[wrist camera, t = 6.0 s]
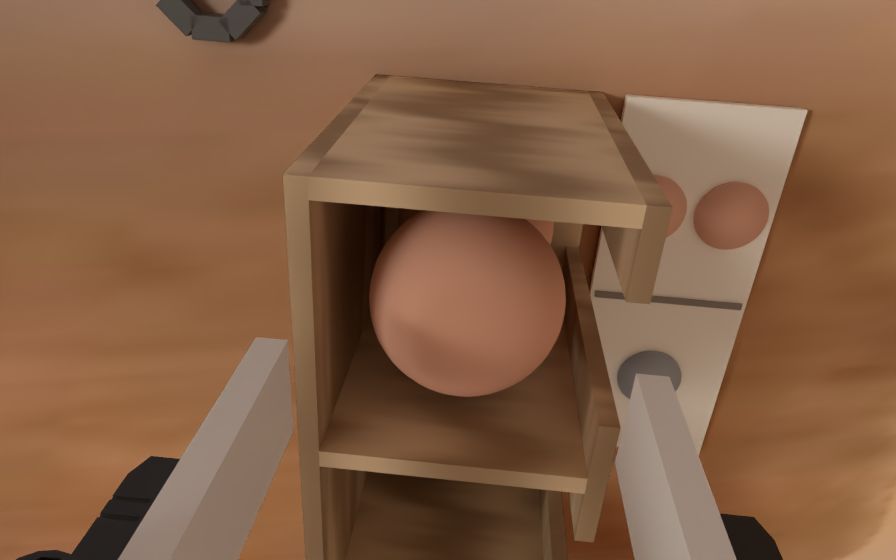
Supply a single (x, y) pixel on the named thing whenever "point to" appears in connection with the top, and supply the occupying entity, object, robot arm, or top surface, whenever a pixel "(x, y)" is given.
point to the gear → (214, 19)
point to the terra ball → (467, 301)
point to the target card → (695, 244)
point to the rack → (421, 409)
